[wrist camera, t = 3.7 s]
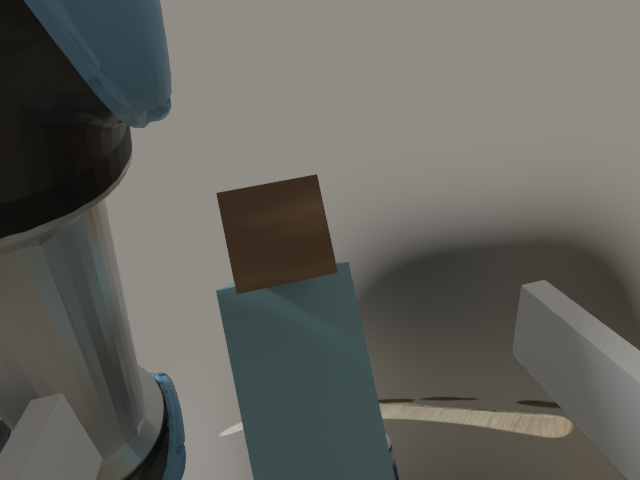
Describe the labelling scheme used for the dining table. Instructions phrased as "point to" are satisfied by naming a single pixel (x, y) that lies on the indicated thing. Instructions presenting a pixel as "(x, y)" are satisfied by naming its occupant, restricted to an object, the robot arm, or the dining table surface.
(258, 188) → the brown wooden block
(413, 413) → the dining table surface
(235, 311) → the stand
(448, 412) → the dining table surface
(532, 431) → the dining table surface
